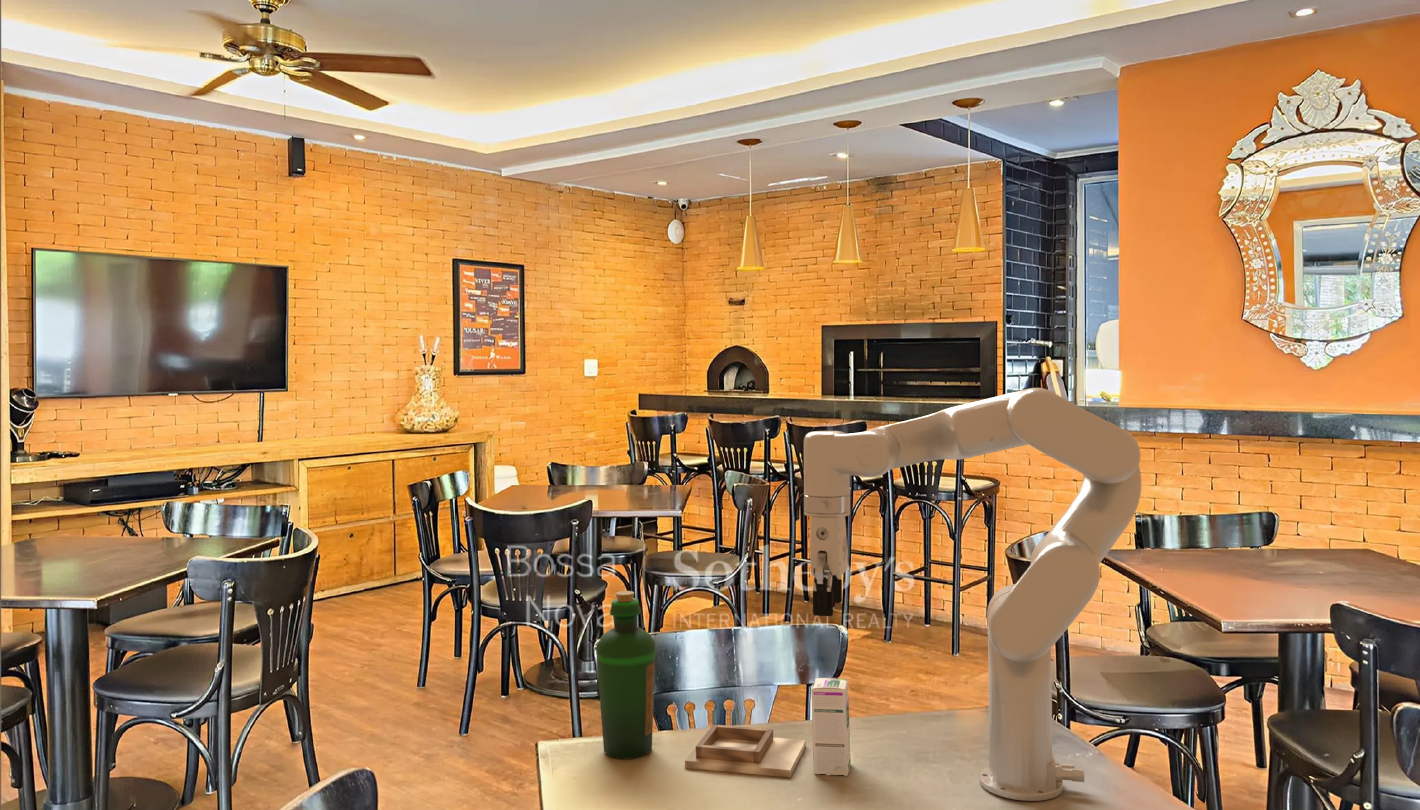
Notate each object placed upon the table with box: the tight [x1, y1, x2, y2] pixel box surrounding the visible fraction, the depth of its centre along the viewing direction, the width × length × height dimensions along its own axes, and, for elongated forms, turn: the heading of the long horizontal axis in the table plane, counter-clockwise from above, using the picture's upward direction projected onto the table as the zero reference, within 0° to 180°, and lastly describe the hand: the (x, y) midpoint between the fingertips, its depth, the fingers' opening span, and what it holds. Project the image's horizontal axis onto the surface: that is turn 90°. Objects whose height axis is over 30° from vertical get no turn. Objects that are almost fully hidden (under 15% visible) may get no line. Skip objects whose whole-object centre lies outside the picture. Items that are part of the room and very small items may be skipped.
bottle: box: [595, 590, 656, 760], centre depth 174 cm, size 11×11×28 cm
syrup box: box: [810, 677, 852, 777], centre depth 165 cm, size 6×6×14 cm
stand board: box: [684, 724, 807, 778], centre depth 171 cm, size 18×14×3 cm
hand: (827, 608), depth 164 cm, fingers open, 9 cm apart
